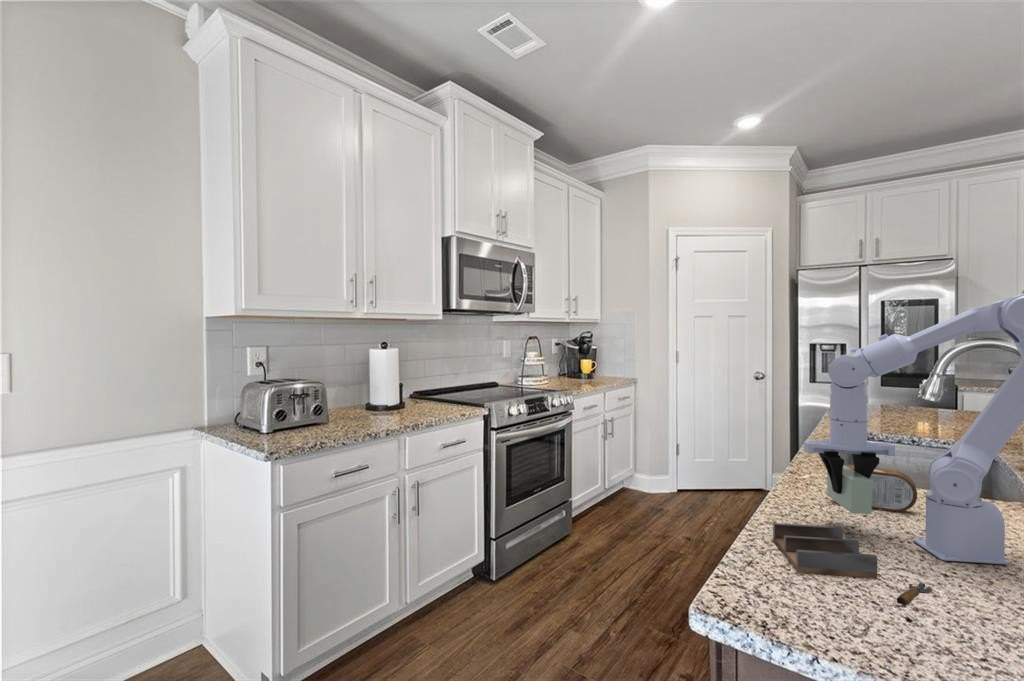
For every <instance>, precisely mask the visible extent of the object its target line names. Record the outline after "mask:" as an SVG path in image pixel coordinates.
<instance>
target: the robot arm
mask: <svg viewBox="0 0 1024 681" xmlns="http://www.w3.org/2000/svg"><path fill="white" fill-rule="evenodd" d="M1001 330H1002V331H1003V332H1004V333H1005V334H1007V335H1008V336H1009V337H1010V338H1011V339H1012V340H1013V343H1014V345H1015V347H1016V349H1017V350H1018V353H1019V355H1020V357H1021V360H1020V361H1019V362H1018V363H1017V365H1016V366H1015V367H1014V369H1013V370H1012V371H1011V372H1010V374H1009V375H1008V376H1007V378H1006V379H1005V381H1003V383H1002V384H1001V385H1000V387H999V388H998V389H997V391H996V392H995V394H994V395H993V396H992V397H991V399H990V400H989V401H988V403H987V404H986V405H985V407H984V408H983V409H982V411H981V412H980V413H979V414H978V416H977V417H976V418H975V420H974V421H973V422H972V423H971V424H970V426H969V427H968V428H967V430H966V431H965V433H964V434H963V435H962V437H961V438H959V440H958V441H956V443H954V444H953V445H952V446H951V447H950V449H949V450H948V451H947V452H946V453H944V454H942V455H940V456H938V457H935V458H934V459H933V460H932V461H931V462H930V464H929V466H928V475H929V486H930V489H929V490H926V491H925V538H920V537H919V538H918V537H917V538H916V537H914V538H913V541H912V542H915V543H916V544H917V545H919V546H920V547H922V548H923V549H925V550H926V551H927V552H929V553H930V554H931V555H934V556H935V557H936V558H938V559H940V560H941V561H949V562H965V563H966V562H967V563H979V564H981V563H982V564H993V565H994V564H995V565H1009V561H1008V560H1007V559H1006V558H1005V554H1006V552H1005V551H1006V549H1005V548H1006V547H1005V546H1006V545H1005V544H1006V543H1005V542H1006V541H1005V538H1006V536H1005V535H1006V533H1005V532H1006V531H1005V530H1006V524H1005V520H1004V516H1003V513H1002V512H1001V510H1000V508H998V506H996V504H994V503H993V502H990V501H984V500H983V499H982V498H981V497H980V496H981V493H982V483H983V480H984V477H986V475H987V474H988V473H989V471H990V468H991V466H992V463H993V461H994V459H995V458H996V457H997V455H998V454H999V453H1000V452H1001V450H1003V448H1004V447H1005V445H1006V444H1007V443H1008V441H1010V439H1011V438H1012V436H1013V435H1014V434H1015V433H1016V432H1017V430H1018V429H1019V428H1020V426H1021V425H1022V424H1023V423H1024V293H1020V294H1018V295H1015V296H1012V297H1009V298H1007V299H1004V300H1003V299H1002V300H999V301H996V302H991V303H989V304H988V303H987V304H985V305H980V306H977V307H973V308H970V309H968V310H966V311H963V312H961V313H959V314H956V315H954V316H952V317H950V318H948V319H945V320H944V321H940V322H938V323H937V324H934V325H932V326H930V327H928V328H925V329H923V330H921V331H918V332H916V333H913V334H912V335H910V336H906V335H902V334H898V333H893V334H889V336H888V334H887V333H886V334H882V335H880V336H878V339H879V340H876V341H875V342H872V343H870V344H867V345H865V346H862V347H861V348H857V347H854V348H851V349H850V353H851V354H841V355H839V357H836V358H835V359H833V360H832V361H831V363H830V364H829V366H828V372H827V373H828V376H829V378H830V380H831V384H830V392H831V393H830V394H829V424H830V425H829V429H830V430H829V433H830V434H829V440H809V441H807V440H804V441H803V451H804V452H805V453H806V454H809V455H810V454H818V455H819V457H820V459H821V461H822V462H823V464H824V467H825V469H826V472H827V471H828V474H829V477H830V480H831V484H832V489H833V491H834V492H836V493H837V494H841V493H842V471H843V466H844V464H845V459H844V458H842V457H841V454H842V455H844V454H845V455H851V458H852V463H853V465H854V471H856V472H857V473H859V474H861V475H863V476H865V477H866V478H868V479H870V476H871V474H872V473H873V471H874V470H875V468H878V465H879V464H880V457H878V456H877V455H879V456H880V455H881V456H888V457H895V456H896V446H895V445H894V444H891V443H889V442H887V443H885V442H872V441H871V442H870V441H868V396H867V394H866V382H865V381H866V380H867V378H868V377H871V378H878V377H880V376H883V375H886V374H889V373H890V372H893V371H896V370H898V369H901V368H904V367H906V366H910V365H911V364H914V363H915V361H916V359H917V356H918V354H919V353H920V352H922V351H926V350H928V349H930V348H933V347H936V346H939V345H941V344H945V343H947V342H949V341H952V340H954V339H957V338H960V337H964V336H965V335H968V334H971V333H975V332H977V333H978V332H1001Z"/></svg>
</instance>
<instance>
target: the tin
mask: <svg viewBox="0 0 1024 681" xmlns="http://www.w3.org/2000/svg"><path fill="white" fill-rule="evenodd" d="M843 466H847V467H848V468H850V469H852V470H854V464H845V465H843ZM870 480H872V508H875V509H874V510H879V509H881V510H880V511H885V510H888V511H887V512H891V511H896V512H895V513H899V512H900V513H902V512H906V511H907V510H910V509H911V508H912V507H914V506H915V504H916V503H917V501H918V491H917V486H916V484H915V482H914V480H912V479H911V477H909V476H908V475H907V474H905V473H904V472H901V471H899V470H894V469H887V468H880V467H876V468H875V470H874V471H873V473H872V474H871V476H870Z"/></svg>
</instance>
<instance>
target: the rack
mask: <svg viewBox="0 0 1024 681" xmlns="http://www.w3.org/2000/svg"><path fill="white" fill-rule="evenodd" d="M772 541H773V543H774V544H775V545H776V546H777V547H778V549H779V550H780V551H781V552H782V554H783V555H784V556H785V558H786V559H787V560H788V561H789V563H790V564H791V565H792V566H793V568H794V569H795V570H796V571H797V573H802V574H806V573H807V574H817V575H818V574H819V575H832V576H833V575H834V576H846V577H859V578H872V579H878V556H877V555H876V554H870V553H860V541H859V540H858V539H851V538H850V539H848V538H844V528H843V527H842V526H833V525H831V526H830V525H815V524H813V525H811V524H795V523H782V522H781V523H779V522H778V523H777V522H773V523H772Z"/></svg>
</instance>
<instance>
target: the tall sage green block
mask: <svg viewBox="0 0 1024 681" xmlns="http://www.w3.org/2000/svg"><path fill="white" fill-rule="evenodd" d="M826 483H827V484H826V496H828V497H829V498H830V499H832V501H834V502H835V503H837V504H838V505H840V506H841V507H842V508H843V509H845V510H846V511H847V512H849V513H851V514H855V515H856V514H857V515H872V513H873V512H872V510H873V509H872V480H870V479H868V478H866V477H865V476H863V475H861V474H859V473H857V472H856V471H854V470H852V469H850V468H848V467H847V466H844V465H843V471H842V493H841V494H837V493H836V492H834V491H833V489H832V484H831V480H830V477H829V474H828V471H827V470H826Z"/></svg>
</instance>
